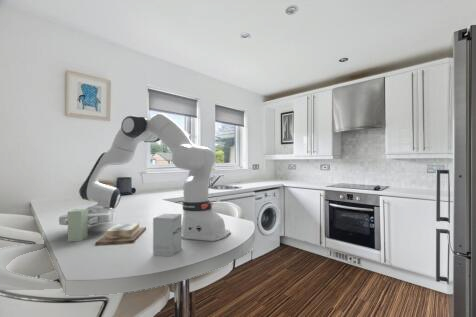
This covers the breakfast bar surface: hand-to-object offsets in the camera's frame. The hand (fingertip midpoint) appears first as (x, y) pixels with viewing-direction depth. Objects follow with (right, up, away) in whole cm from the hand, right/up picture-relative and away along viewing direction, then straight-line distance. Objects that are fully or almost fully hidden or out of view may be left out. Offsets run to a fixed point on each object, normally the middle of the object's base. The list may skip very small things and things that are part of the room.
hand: (76, 222), depth 93 cm
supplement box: (+42, -6, -14) cm, 45 cm away
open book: (+18, -7, +3) cm, 19 cm away
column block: (0, -7, +1) cm, 7 cm away
